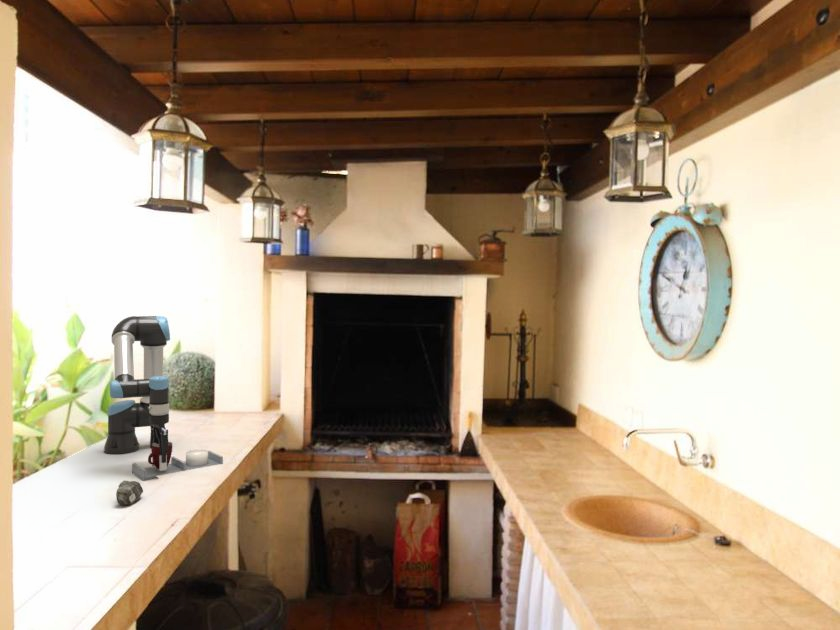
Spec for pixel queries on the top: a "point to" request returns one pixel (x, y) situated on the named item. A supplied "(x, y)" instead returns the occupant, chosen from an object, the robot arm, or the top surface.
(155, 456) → the red cup
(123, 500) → the stone
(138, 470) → the rack
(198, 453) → the white egg shape
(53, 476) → the top surface
